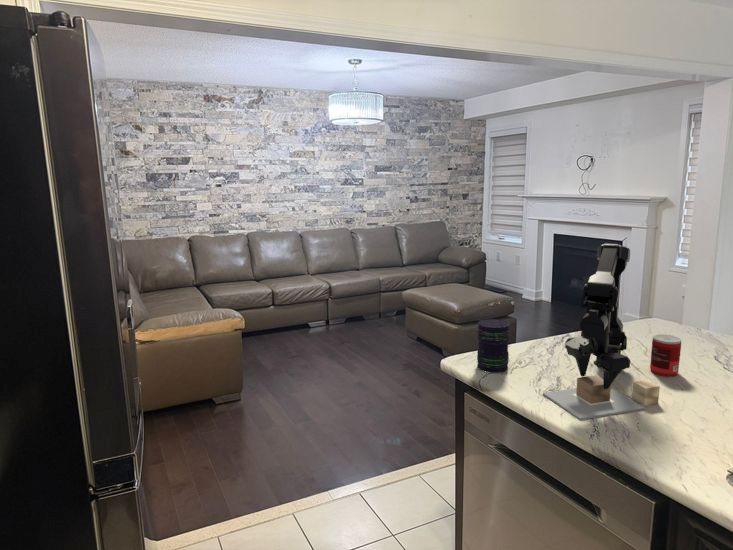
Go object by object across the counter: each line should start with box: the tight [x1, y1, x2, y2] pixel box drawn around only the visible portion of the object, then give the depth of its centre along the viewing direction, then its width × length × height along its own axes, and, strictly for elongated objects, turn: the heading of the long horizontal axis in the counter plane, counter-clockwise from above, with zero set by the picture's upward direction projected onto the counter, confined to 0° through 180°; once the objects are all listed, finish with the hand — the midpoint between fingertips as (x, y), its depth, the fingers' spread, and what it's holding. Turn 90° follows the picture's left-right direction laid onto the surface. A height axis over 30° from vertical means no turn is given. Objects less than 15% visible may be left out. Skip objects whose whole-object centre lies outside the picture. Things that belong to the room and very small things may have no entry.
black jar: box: [476, 318, 510, 374], centre depth 162 cm, size 10×10×15 cm
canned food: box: [649, 333, 682, 377], centre depth 156 cm, size 8×8×11 cm
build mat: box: [542, 387, 647, 421], centre depth 138 cm, size 20×16×1 cm
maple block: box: [631, 379, 661, 407], centre depth 137 cm, size 4×4×5 cm
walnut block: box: [576, 374, 612, 404], centre depth 138 cm, size 6×6×5 cm
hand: (593, 382), depth 138 cm, fingers open, 9 cm apart
